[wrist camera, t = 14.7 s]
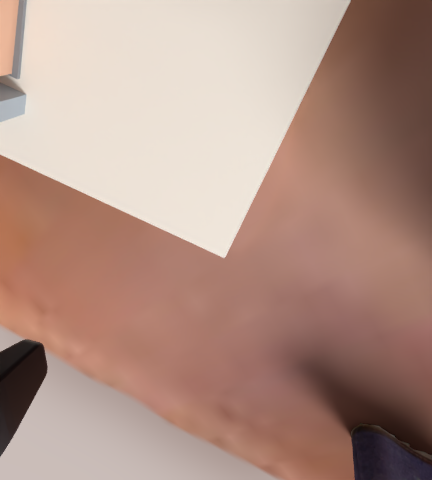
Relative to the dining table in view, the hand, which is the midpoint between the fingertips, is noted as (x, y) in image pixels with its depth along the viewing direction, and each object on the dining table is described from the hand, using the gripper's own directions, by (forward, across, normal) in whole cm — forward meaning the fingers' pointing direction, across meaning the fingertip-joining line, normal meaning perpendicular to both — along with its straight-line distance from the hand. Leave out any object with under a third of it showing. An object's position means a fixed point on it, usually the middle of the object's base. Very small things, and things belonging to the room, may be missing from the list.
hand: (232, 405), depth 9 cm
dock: (+13, +10, -5) cm, 17 cm away
